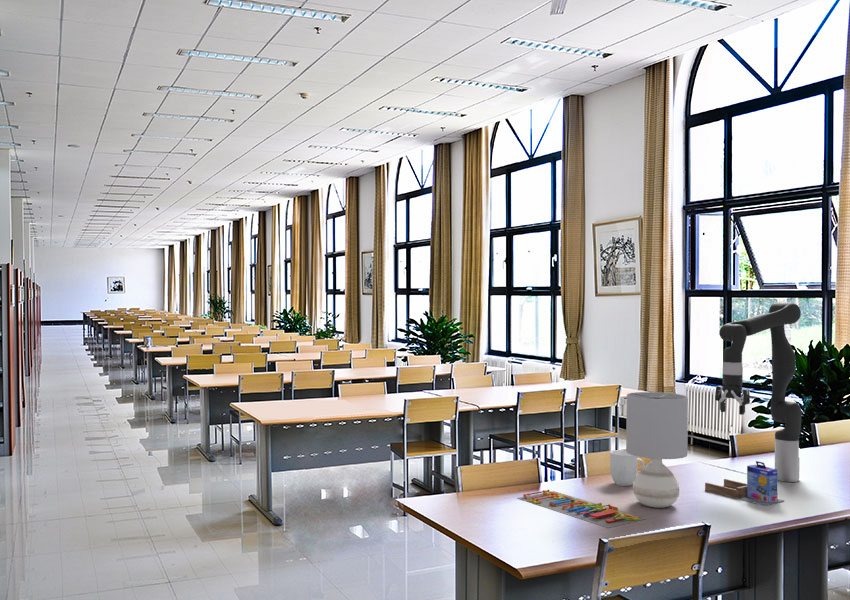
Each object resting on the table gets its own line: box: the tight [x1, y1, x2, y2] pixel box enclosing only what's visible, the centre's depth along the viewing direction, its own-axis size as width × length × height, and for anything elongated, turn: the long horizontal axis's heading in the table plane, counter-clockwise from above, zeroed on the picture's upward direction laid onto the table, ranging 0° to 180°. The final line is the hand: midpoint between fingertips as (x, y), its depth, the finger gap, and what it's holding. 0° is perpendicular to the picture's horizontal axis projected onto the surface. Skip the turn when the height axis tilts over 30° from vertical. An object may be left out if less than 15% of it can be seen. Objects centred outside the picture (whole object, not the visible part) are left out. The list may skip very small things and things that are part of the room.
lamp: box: [625, 391, 689, 509], centre depth 282 cm, size 22×22×40 cm
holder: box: [704, 478, 747, 499], centre depth 302 cm, size 13×15×4 cm
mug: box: [609, 449, 646, 487], centre depth 314 cm, size 15×11×13 cm
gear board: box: [516, 489, 647, 529], centre depth 277 cm, size 45×2×19 cm
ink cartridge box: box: [746, 460, 779, 503], centre depth 290 cm, size 10×6×14 cm, turn 30°
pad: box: [740, 497, 785, 507], centre depth 290 cm, size 12×10×1 cm
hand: (732, 413), depth 310 cm, fingers open, 8 cm apart
